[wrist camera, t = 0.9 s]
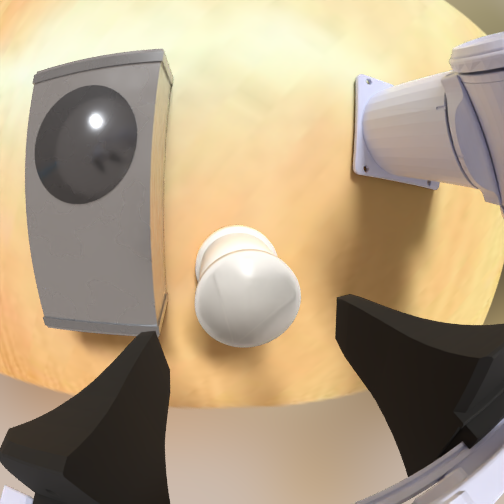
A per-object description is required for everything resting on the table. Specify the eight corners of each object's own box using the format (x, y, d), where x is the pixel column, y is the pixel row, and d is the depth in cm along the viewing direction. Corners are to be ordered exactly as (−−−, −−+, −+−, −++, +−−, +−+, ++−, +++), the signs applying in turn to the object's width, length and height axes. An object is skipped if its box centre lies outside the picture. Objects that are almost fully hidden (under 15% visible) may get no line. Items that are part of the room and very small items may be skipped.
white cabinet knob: (278, 225, 19) (308, 251, 13) (271, 299, 21) (295, 345, 15) (196, 223, 18) (191, 249, 12) (196, 300, 20) (194, 349, 14)
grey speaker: (173, 75, 15) (164, 47, 10) (168, 302, 19) (160, 338, 15) (66, 88, 13) (35, 71, 9) (71, 297, 18) (46, 327, 13)
